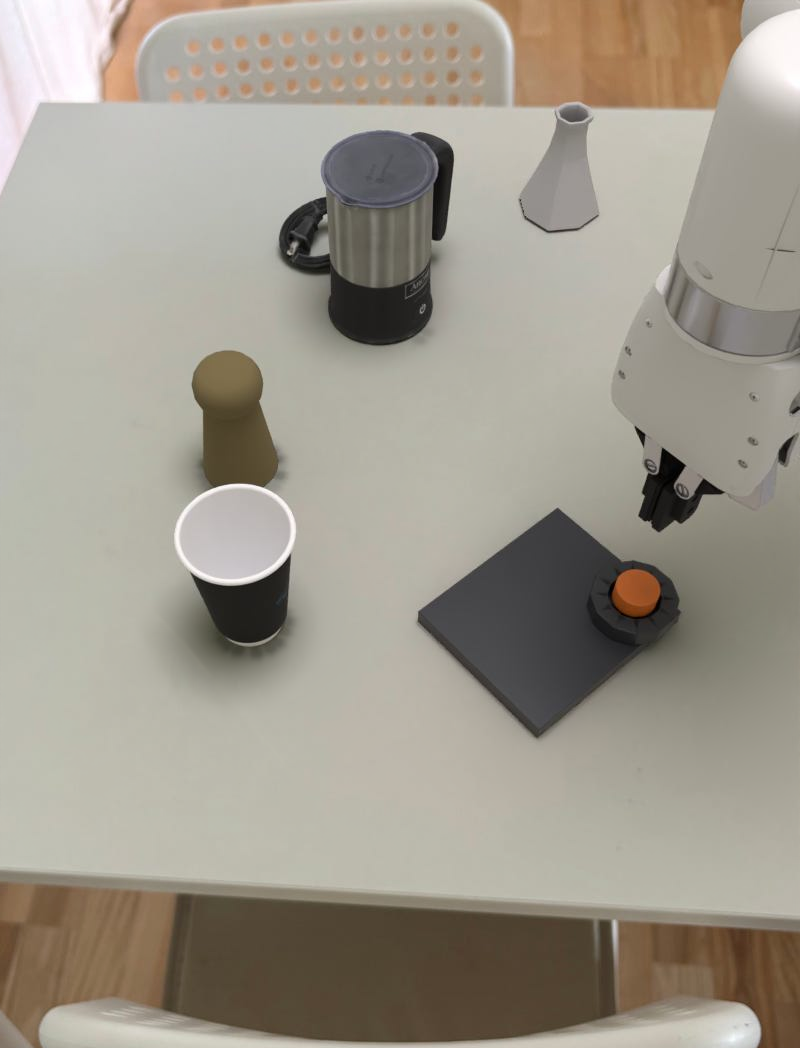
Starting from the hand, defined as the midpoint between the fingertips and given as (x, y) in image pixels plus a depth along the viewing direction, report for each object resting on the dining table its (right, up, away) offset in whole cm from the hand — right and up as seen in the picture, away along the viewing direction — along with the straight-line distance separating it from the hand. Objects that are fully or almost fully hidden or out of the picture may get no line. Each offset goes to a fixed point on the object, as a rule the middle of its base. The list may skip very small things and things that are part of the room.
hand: (664, 512), depth 68 cm
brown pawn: (-28, +5, +20) cm, 35 cm away
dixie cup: (-26, -7, +12) cm, 30 cm away
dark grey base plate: (-5, -7, +11) cm, 14 cm away
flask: (+1, +30, +36) cm, 47 cm away
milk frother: (-18, +22, +31) cm, 42 cm away
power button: (+1, -6, +9) cm, 10 cm away
